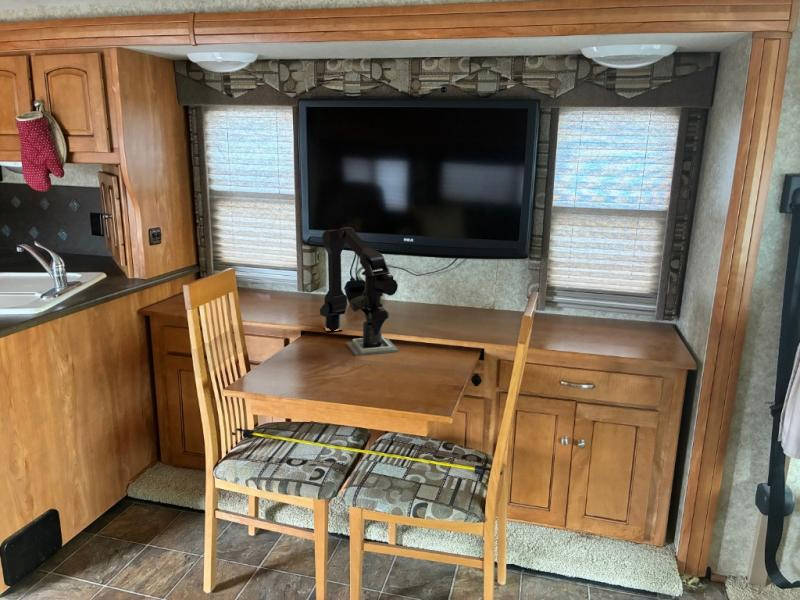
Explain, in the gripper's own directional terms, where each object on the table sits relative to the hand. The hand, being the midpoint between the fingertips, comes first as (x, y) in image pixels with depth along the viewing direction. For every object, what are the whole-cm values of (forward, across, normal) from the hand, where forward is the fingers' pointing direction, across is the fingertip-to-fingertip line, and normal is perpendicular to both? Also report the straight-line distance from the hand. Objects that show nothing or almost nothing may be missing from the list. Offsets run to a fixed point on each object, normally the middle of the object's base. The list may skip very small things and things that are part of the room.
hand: (372, 330), depth 220 cm
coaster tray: (+7, 0, 0) cm, 7 cm away
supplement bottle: (+6, 0, 0) cm, 6 cm away
